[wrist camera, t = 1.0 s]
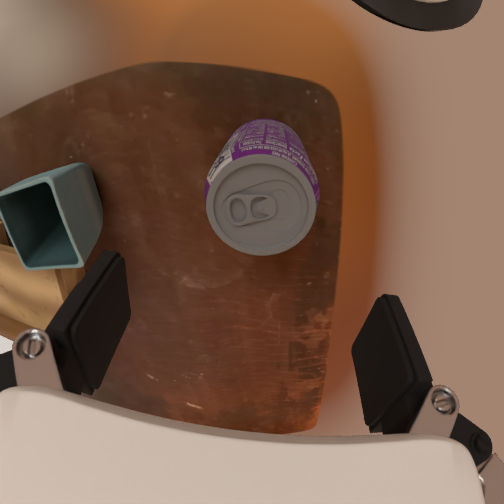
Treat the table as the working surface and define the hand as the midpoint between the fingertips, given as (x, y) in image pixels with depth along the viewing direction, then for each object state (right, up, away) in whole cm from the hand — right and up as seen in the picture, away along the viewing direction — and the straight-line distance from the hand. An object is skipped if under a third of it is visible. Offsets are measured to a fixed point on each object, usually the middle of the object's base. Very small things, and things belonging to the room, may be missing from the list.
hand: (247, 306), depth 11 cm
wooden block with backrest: (-30, -1, +26) cm, 39 cm away
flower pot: (-19, +9, +19) cm, 28 cm away
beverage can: (+1, +11, +16) cm, 20 cm away
